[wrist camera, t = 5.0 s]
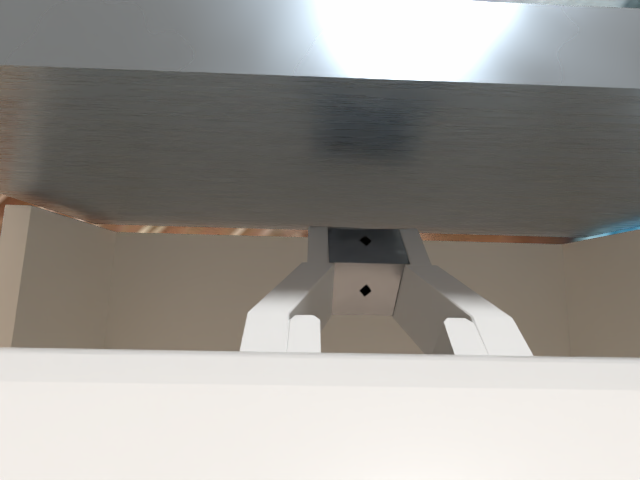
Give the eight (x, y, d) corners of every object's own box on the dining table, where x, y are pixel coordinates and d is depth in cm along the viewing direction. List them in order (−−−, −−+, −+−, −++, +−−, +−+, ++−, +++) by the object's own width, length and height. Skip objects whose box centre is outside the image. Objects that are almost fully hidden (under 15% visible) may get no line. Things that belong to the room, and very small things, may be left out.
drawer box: (579, 651, 16) (782, 922, 9) (78, 650, 16) (-109, 936, 9) (551, 249, 19) (692, 224, 12) (121, 238, 18) (5, 204, 11)
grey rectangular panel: (583, 237, 16) (1211, 109, 5) (95, 223, 16) (-454, 48, 4) (580, 190, 17) (1162, -30, 5) (100, 175, 16) (-398, -102, 5)
